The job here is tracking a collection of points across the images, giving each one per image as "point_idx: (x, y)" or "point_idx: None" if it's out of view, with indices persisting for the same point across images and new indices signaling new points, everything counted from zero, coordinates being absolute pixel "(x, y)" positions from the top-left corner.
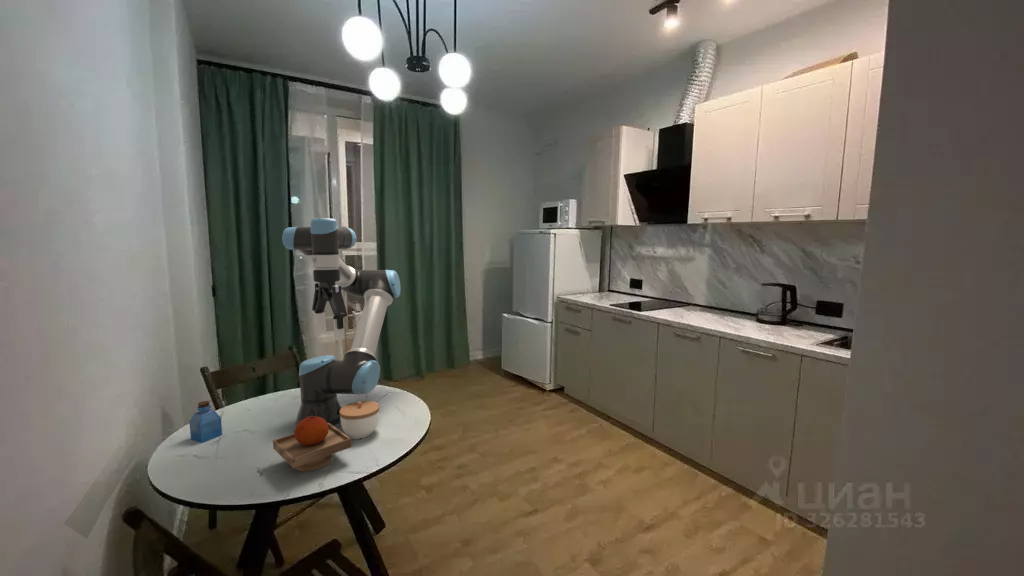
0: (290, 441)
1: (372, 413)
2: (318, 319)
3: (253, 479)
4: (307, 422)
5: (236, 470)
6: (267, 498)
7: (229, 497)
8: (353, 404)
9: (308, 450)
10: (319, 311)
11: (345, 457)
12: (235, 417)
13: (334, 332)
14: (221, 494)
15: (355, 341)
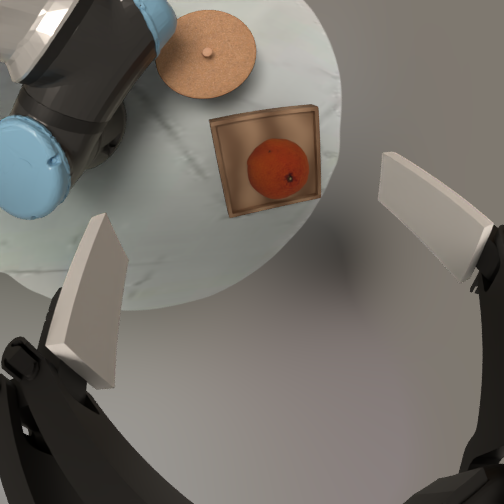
0: (239, 191)
1: (253, 37)
2: (111, 334)
3: (254, 221)
4: (298, 186)
5: (213, 240)
6: (312, 208)
7: (279, 241)
8: (174, 61)
9: None
10: (73, 389)
11: (279, 104)
12: (26, 256)
13: (406, 223)
14: (266, 248)
15: None
